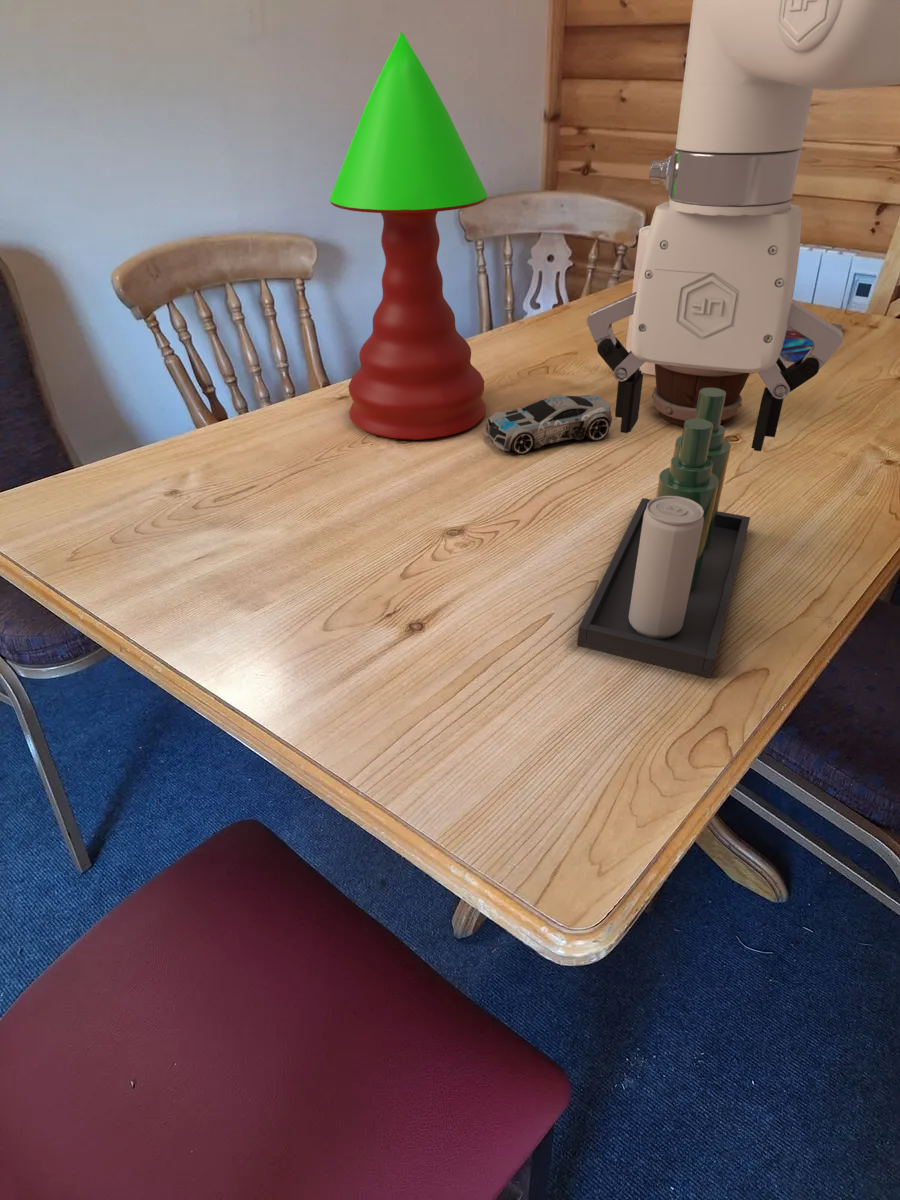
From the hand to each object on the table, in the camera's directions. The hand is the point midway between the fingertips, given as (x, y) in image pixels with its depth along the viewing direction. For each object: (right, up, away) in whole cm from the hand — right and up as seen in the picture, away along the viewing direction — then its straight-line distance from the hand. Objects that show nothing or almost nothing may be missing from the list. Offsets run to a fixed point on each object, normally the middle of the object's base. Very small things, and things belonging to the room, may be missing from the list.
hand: (691, 435), depth 59 cm
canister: (+17, +27, +70) cm, 77 cm away
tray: (+3, -11, +18) cm, 21 cm away
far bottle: (+6, -6, +23) cm, 25 cm away
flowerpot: (+16, +14, +52) cm, 56 cm away
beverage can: (0, -15, +11) cm, 19 cm away
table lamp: (-23, +14, +54) cm, 60 cm away
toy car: (-5, +9, +46) cm, 48 cm away
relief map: (+39, +33, +78) cm, 93 cm away
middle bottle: (+3, -11, +17) cm, 20 cm away
